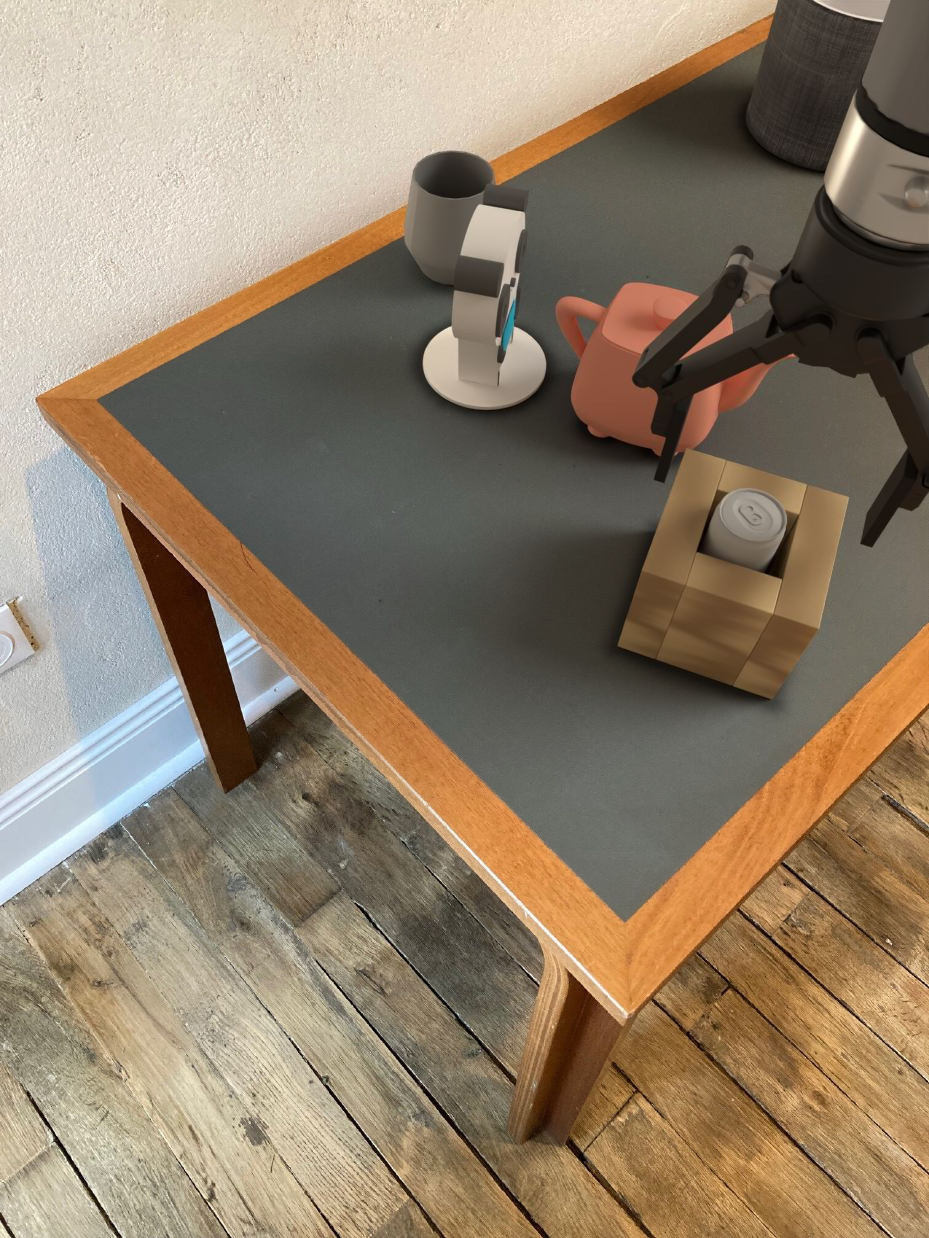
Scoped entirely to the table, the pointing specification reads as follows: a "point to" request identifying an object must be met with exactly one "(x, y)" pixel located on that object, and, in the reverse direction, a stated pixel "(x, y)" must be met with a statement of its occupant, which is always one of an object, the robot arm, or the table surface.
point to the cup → (443, 209)
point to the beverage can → (746, 529)
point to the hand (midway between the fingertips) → (764, 498)
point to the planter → (811, 75)
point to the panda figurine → (488, 313)
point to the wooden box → (734, 581)
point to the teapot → (614, 356)
